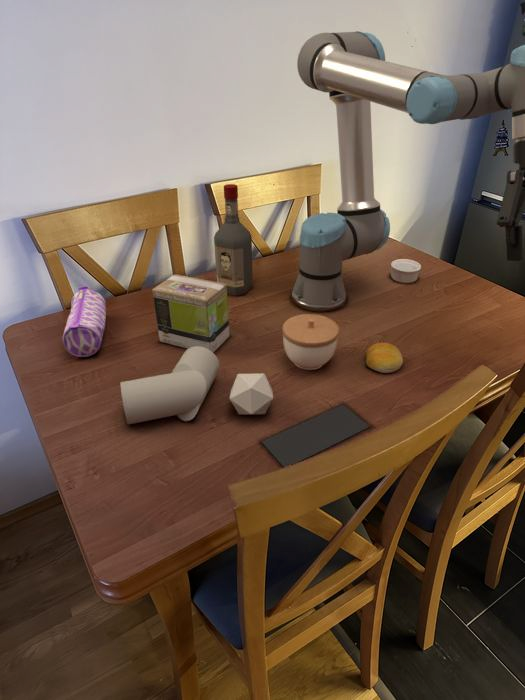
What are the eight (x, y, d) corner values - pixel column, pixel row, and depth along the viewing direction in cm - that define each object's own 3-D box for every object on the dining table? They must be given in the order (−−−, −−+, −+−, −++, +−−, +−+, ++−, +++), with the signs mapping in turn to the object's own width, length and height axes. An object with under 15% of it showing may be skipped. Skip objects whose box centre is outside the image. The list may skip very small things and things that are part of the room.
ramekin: (422, 284, 147) (424, 271, 145) (392, 284, 147) (394, 271, 145) (414, 271, 154) (417, 258, 152) (386, 271, 155) (388, 258, 152)
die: (257, 433, 95) (284, 391, 93) (217, 411, 94) (244, 367, 92) (257, 417, 104) (282, 378, 102) (221, 396, 102) (245, 357, 101)
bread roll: (365, 372, 110) (367, 358, 108) (365, 351, 118) (367, 336, 115) (403, 376, 109) (405, 361, 107) (401, 354, 116) (403, 340, 114)
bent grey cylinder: (199, 440, 91) (229, 376, 107) (182, 395, 86) (216, 335, 102) (118, 440, 97) (158, 380, 113) (97, 398, 91) (142, 341, 107)
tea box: (230, 336, 124) (228, 283, 115) (211, 356, 116) (206, 301, 108) (180, 323, 129) (174, 271, 121) (158, 342, 121) (150, 288, 113)
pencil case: (73, 317, 132) (65, 285, 127) (109, 313, 134) (102, 281, 129) (66, 363, 114) (56, 328, 109) (107, 357, 116) (100, 323, 111)
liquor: (229, 279, 151) (224, 179, 134) (255, 285, 147) (253, 183, 131) (214, 291, 144) (206, 188, 127) (241, 298, 141) (237, 192, 124)
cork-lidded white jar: (321, 383, 107) (324, 341, 101) (271, 366, 113) (272, 325, 106) (344, 355, 116) (349, 315, 110) (298, 340, 122) (299, 301, 115)
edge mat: (285, 469, 87) (285, 468, 87) (261, 442, 92) (261, 441, 92) (369, 427, 95) (369, 426, 95) (343, 404, 101) (343, 404, 101)
